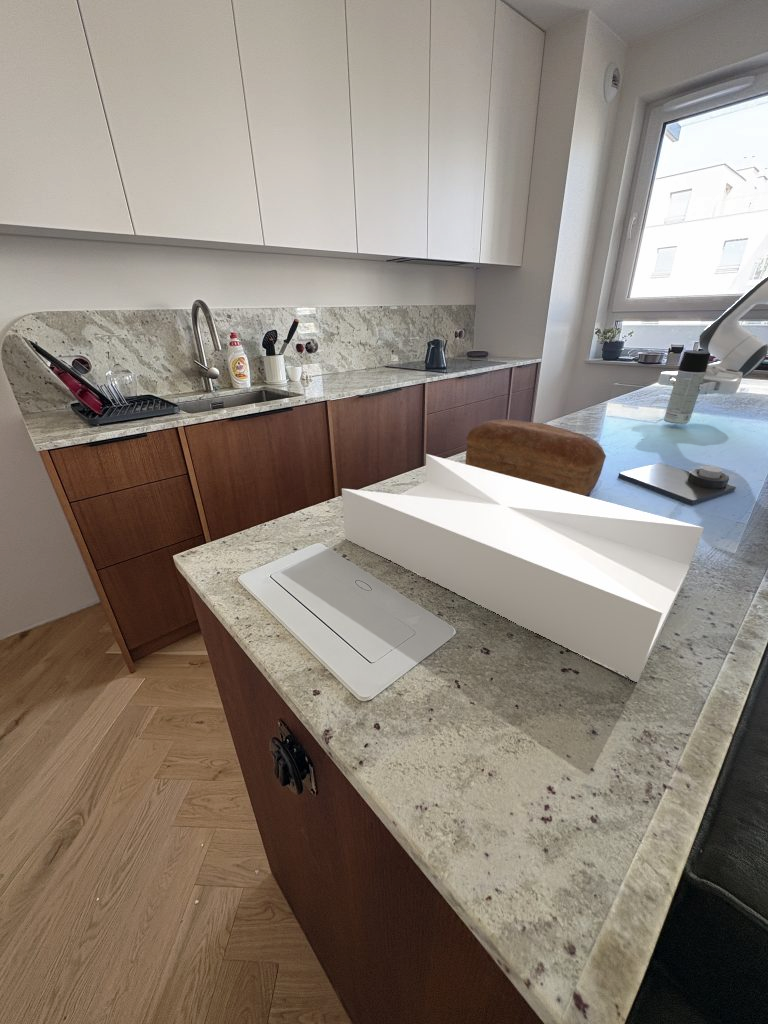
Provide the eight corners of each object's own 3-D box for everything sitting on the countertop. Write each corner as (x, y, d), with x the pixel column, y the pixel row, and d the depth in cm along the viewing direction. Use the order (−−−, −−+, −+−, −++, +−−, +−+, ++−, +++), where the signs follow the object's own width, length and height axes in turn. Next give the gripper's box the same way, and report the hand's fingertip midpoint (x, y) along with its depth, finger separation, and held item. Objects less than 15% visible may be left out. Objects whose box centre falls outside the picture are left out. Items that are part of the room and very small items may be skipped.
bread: (487, 458, 106) (492, 409, 100) (604, 488, 88) (618, 431, 83) (455, 473, 97) (458, 421, 91) (578, 510, 79) (591, 448, 74)
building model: (345, 539, 71) (341, 488, 67) (424, 497, 86) (426, 453, 81) (636, 683, 44) (662, 613, 40) (681, 586, 58) (704, 527, 54)
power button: (723, 477, 86) (726, 469, 85) (712, 480, 84) (715, 472, 84) (704, 472, 89) (707, 464, 88) (694, 475, 87) (697, 467, 87)
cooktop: (734, 492, 86) (740, 478, 84) (691, 506, 80) (696, 491, 79) (659, 467, 99) (663, 454, 97) (617, 477, 93) (620, 465, 92)
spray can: (687, 419, 130) (709, 350, 120) (691, 425, 124) (714, 353, 115) (662, 417, 132) (681, 350, 123) (664, 423, 127) (685, 352, 117)
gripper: (672, 365, 136) (652, 369, 129) (749, 372, 121) (731, 378, 114) (667, 385, 139) (646, 390, 132) (741, 394, 124) (722, 401, 117)
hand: (686, 384), depth 123 cm, fingers closed on spray can, 6 cm apart
